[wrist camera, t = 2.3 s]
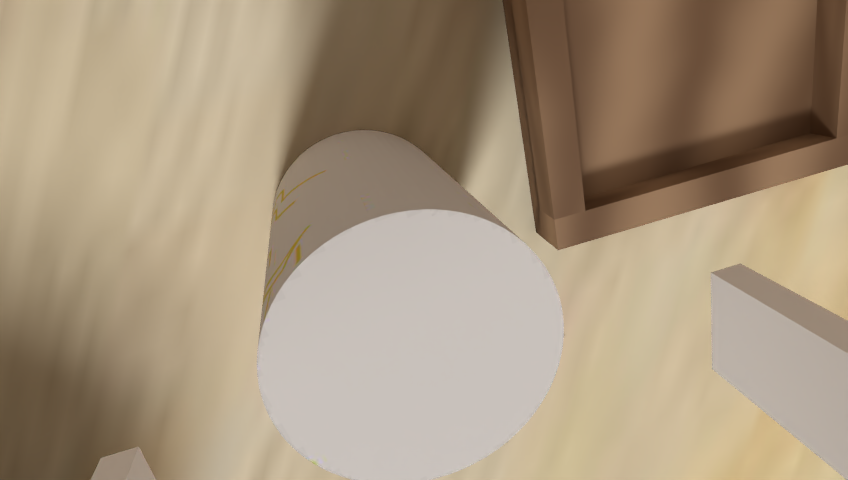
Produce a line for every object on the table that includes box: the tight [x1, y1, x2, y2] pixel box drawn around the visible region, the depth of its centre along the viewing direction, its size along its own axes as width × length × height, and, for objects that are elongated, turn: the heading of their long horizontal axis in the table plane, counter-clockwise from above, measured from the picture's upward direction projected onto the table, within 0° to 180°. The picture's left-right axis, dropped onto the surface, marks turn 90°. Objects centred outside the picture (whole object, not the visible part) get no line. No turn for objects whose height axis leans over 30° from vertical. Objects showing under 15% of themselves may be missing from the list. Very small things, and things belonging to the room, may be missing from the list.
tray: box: [503, 0, 848, 250], centre depth 25 cm, size 16×16×2 cm
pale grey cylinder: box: [257, 130, 564, 480], centre depth 20 cm, size 8×8×12 cm
